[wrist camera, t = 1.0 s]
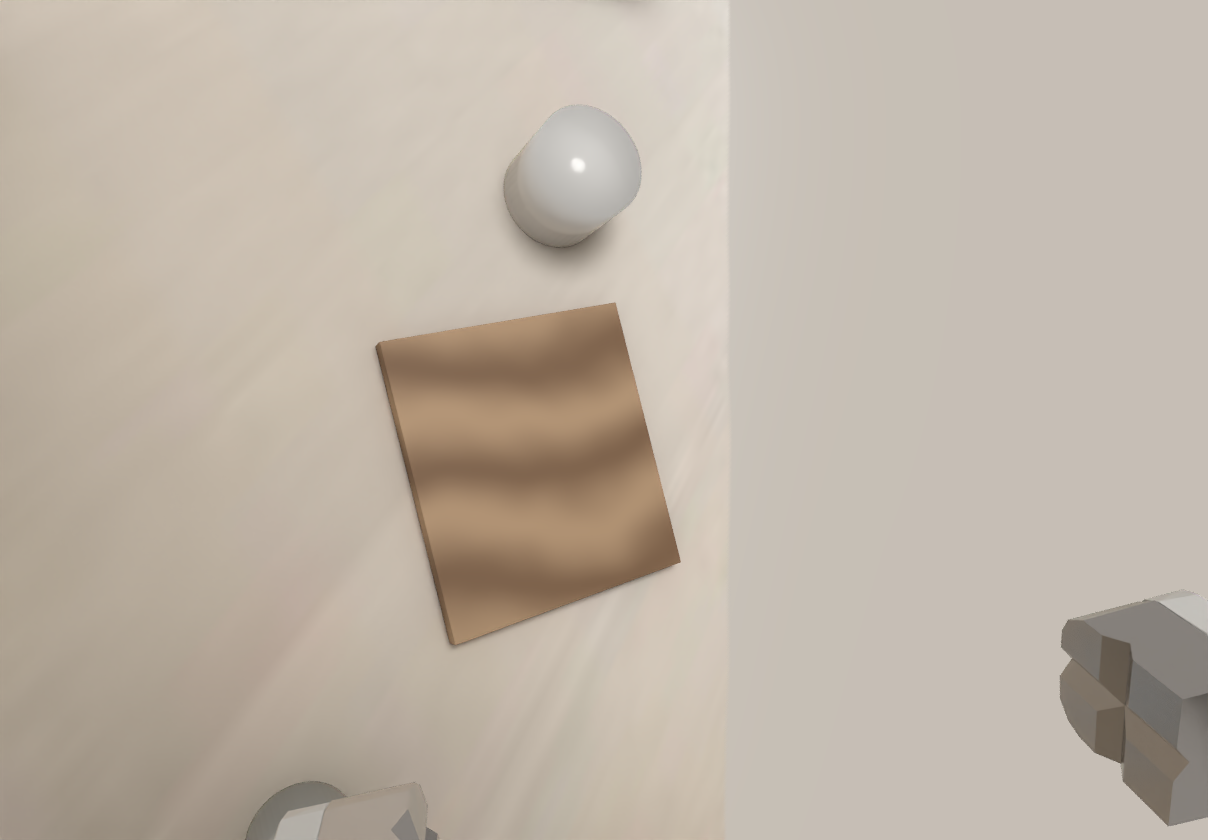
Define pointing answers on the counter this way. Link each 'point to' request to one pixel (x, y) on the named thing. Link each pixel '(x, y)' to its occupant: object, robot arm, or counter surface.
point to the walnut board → (527, 464)
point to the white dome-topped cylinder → (572, 176)
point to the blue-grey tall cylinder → (289, 806)
